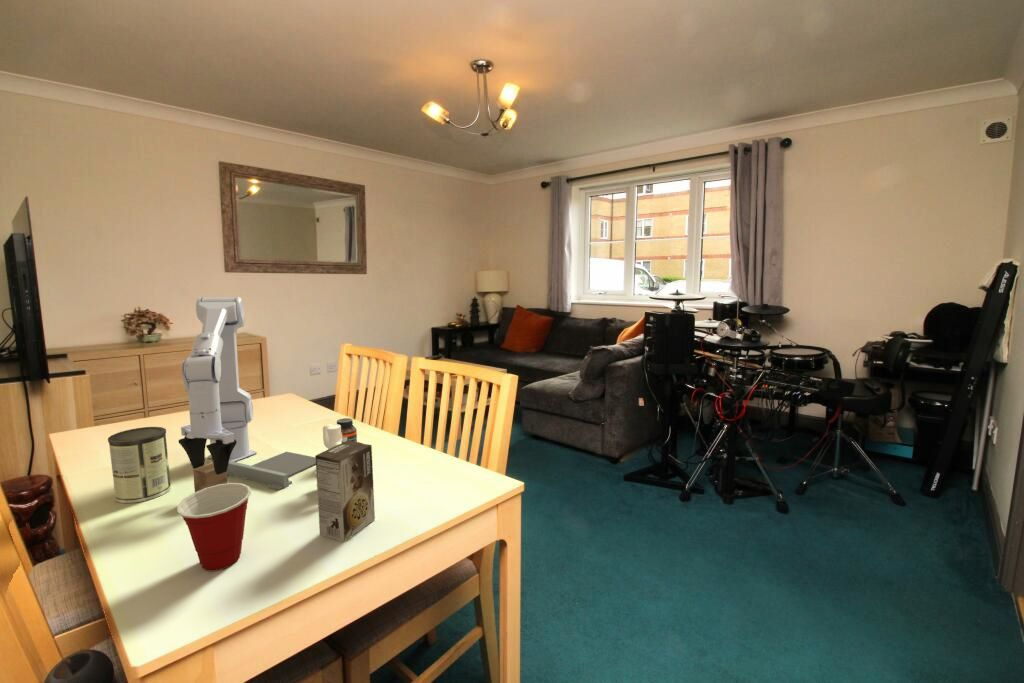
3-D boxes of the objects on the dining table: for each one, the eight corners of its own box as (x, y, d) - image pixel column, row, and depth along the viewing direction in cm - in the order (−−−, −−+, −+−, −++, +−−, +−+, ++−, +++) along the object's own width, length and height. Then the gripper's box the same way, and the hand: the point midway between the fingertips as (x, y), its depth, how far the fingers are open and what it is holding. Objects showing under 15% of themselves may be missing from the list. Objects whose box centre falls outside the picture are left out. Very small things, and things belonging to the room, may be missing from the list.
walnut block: (195, 499, 106) (192, 469, 105) (215, 491, 110) (212, 462, 109) (209, 503, 104) (206, 472, 103) (228, 495, 108) (226, 465, 108)
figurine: (329, 499, 106) (326, 434, 105) (313, 485, 113) (310, 424, 111) (360, 490, 111) (358, 427, 109) (343, 477, 118) (341, 418, 116)
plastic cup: (166, 572, 80) (160, 504, 78) (225, 539, 90) (221, 478, 88) (213, 587, 76) (207, 516, 74) (269, 551, 86) (265, 488, 84)
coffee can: (131, 485, 113) (126, 427, 111) (180, 482, 115) (175, 425, 113) (103, 505, 103) (95, 442, 101) (156, 501, 105) (150, 439, 103)
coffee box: (350, 514, 100) (347, 439, 98) (375, 520, 98) (373, 443, 96) (317, 535, 92) (313, 454, 90) (344, 542, 89) (340, 459, 87)
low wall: (215, 474, 119) (214, 463, 119) (230, 469, 123) (229, 457, 123) (279, 490, 111) (278, 478, 110) (293, 483, 114) (292, 471, 114)
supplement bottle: (350, 465, 126) (348, 424, 124) (329, 464, 127) (327, 422, 125) (361, 457, 131) (360, 417, 130) (342, 455, 133) (340, 416, 131)
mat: (248, 468, 123) (248, 466, 123) (286, 453, 134) (286, 451, 134) (288, 477, 118) (288, 475, 118) (324, 461, 129) (324, 459, 129)
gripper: (164, 411, 104) (170, 471, 106) (209, 419, 98) (214, 482, 100) (197, 403, 110) (201, 460, 112) (241, 410, 105) (245, 470, 106)
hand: (209, 470), depth 106 cm, fingers open, 7 cm apart
